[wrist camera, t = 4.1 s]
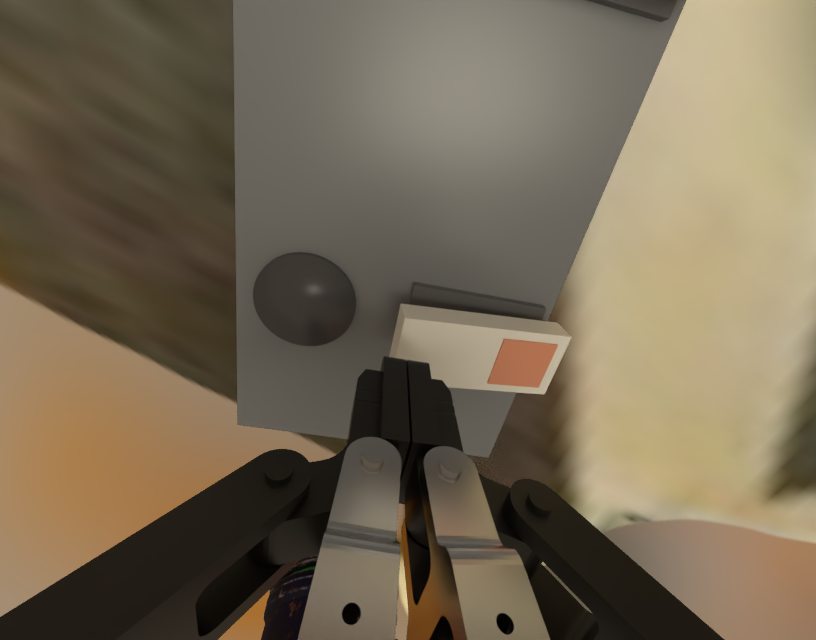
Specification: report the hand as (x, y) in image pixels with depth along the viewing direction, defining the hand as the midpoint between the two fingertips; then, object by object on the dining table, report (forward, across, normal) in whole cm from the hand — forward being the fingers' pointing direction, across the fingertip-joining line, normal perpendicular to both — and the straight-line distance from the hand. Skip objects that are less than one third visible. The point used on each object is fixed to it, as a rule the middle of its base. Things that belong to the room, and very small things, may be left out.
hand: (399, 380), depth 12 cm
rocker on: (+3, -3, 0) cm, 5 cm away
